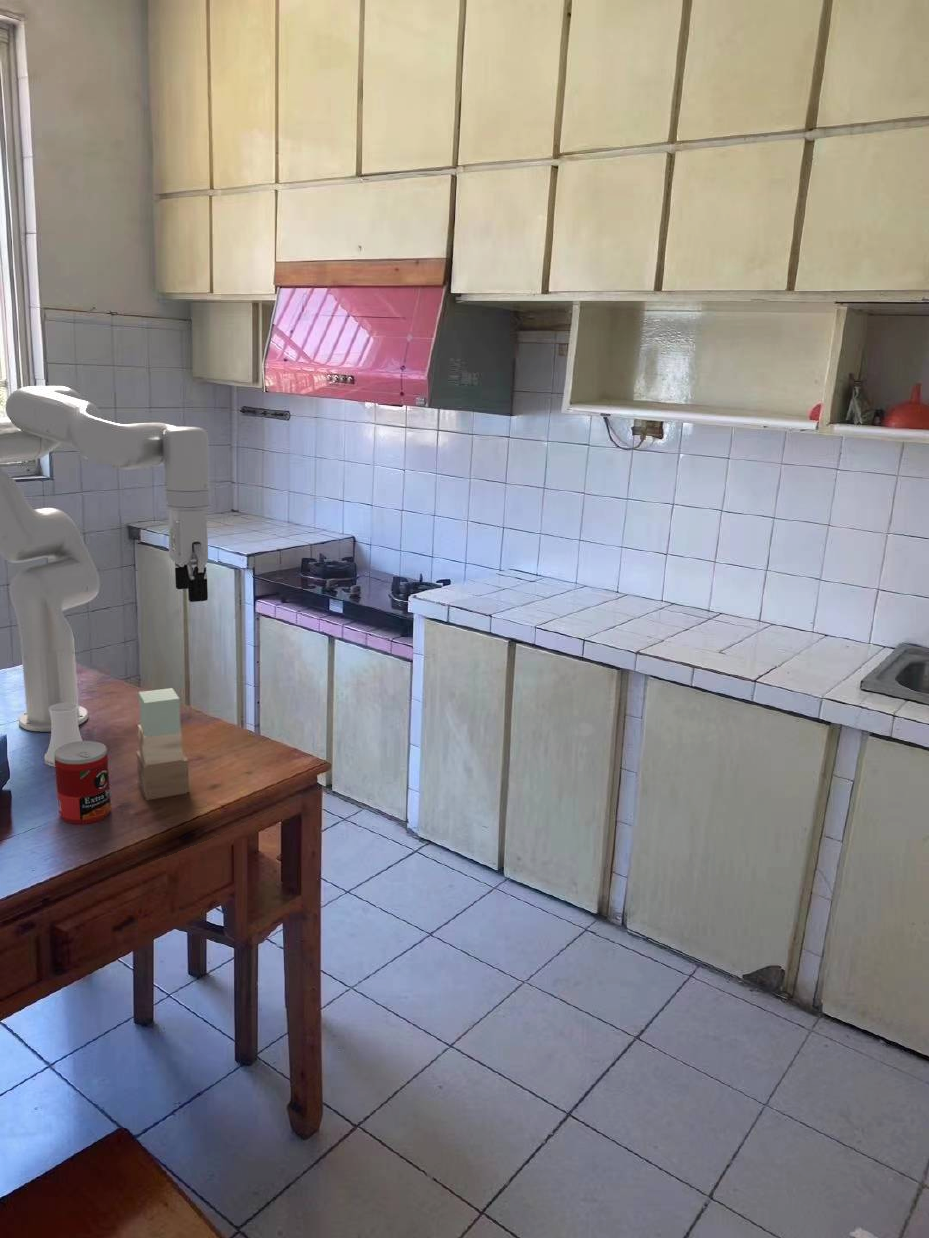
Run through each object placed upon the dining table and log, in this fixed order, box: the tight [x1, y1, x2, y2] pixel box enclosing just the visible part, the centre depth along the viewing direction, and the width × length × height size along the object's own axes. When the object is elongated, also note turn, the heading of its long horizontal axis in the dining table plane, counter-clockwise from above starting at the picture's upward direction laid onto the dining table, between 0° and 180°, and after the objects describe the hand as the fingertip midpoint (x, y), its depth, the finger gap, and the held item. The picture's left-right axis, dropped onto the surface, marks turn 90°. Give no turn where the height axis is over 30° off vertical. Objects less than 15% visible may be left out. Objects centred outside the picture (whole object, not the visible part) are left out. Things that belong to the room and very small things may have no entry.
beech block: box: [137, 724, 183, 766], centre depth 155 cm, size 6×6×5 cm
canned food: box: [54, 740, 112, 825], centre depth 146 cm, size 8×8×11 cm
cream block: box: [136, 750, 190, 801], centre depth 157 cm, size 7×7×6 cm
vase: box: [43, 703, 84, 768], centre depth 166 cm, size 8×8×10 cm
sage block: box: [138, 687, 182, 737], centre depth 154 cm, size 6×6×6 cm
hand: (191, 594), depth 165 cm, fingers open, 9 cm apart
